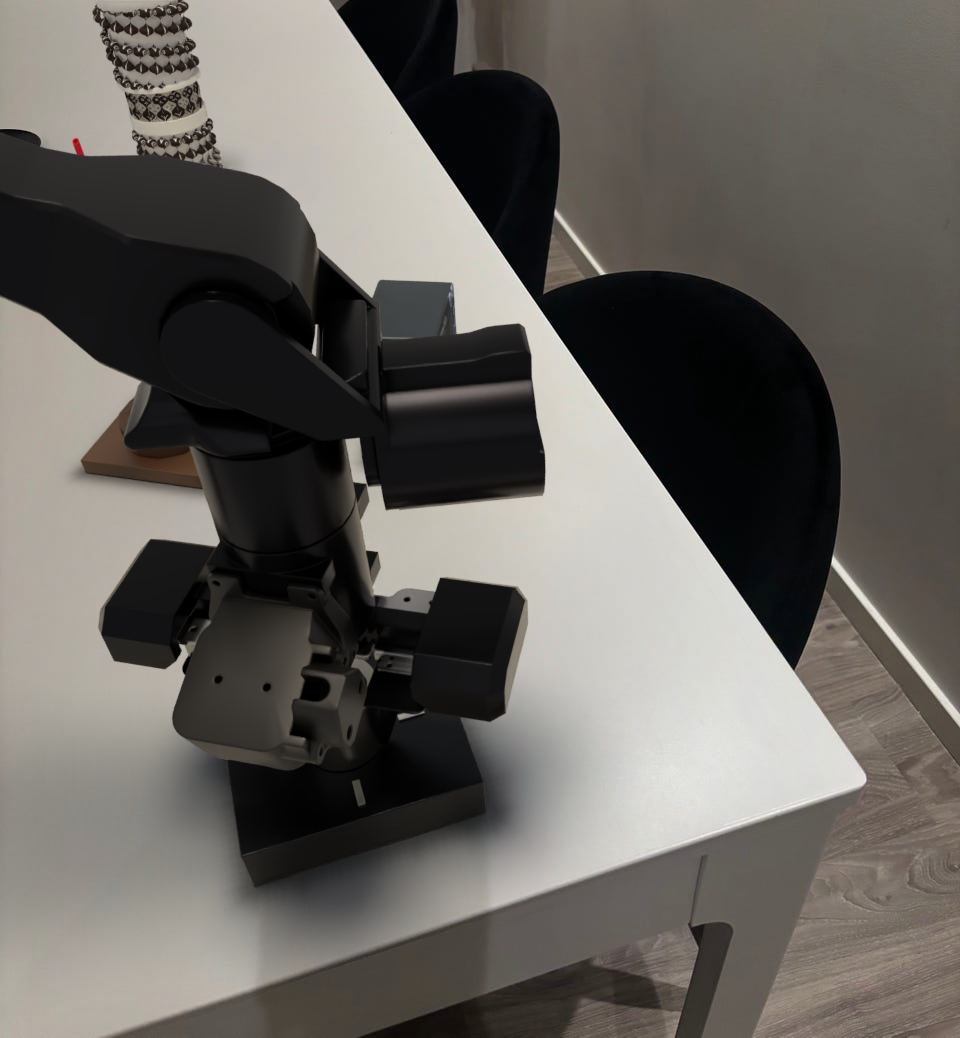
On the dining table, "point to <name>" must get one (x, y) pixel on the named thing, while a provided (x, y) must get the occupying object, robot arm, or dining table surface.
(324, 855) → the panel
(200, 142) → the decorative candle
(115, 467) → the button block
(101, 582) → the dining table surface
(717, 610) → the dining table surface
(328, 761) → the knob
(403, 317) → the box
